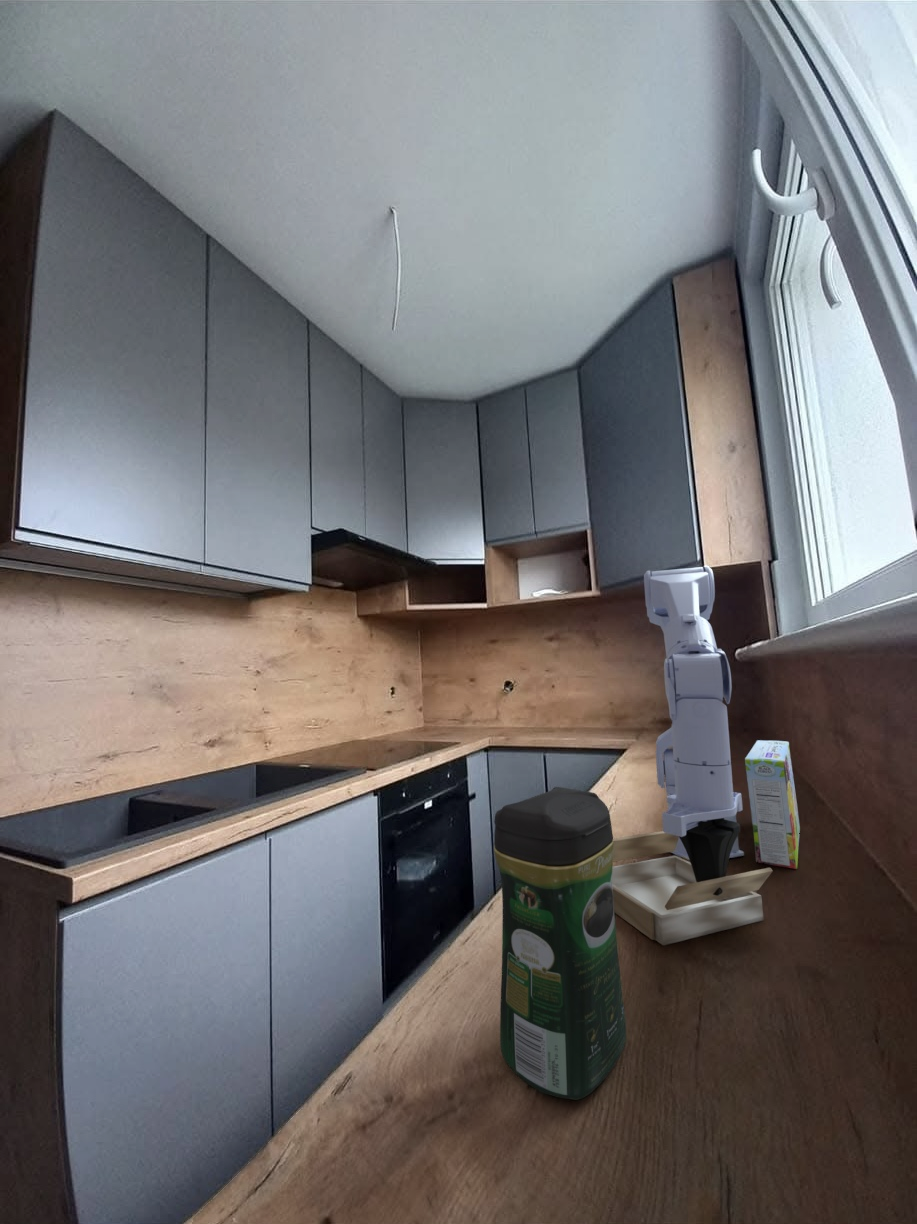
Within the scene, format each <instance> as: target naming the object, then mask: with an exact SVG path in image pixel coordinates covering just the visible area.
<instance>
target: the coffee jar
mask: <svg viewBox="0 0 917 1224" xmlns="http://www.w3.org/2000/svg"><path fill="white" fill-rule="evenodd" d="M611 820H612V819H611V814H610V811H609V808H608V806H607V805H606V803H605V802H604V801H603V800H602V799H600V797H599V796H598V794H597V793H594V792H591V791H585V790H580V789H573V788H567V787H561V786H554V787H553V788H552V789H551V790H549V791H546V792H542V793H540V794H538V795H534V796H532V797H529V798H526V799H523V800H521V801H518V802H514V803H510V804H505V805H504V806H503V807H501V808H500V809H498V810H497V811H496V812H495V814H494V842H493V843H494V846H493V852H494V858H495V861H496V864H497V867H498V870H499V874H500V881H501V882H500V883H501V894H502V898H501V899H502V902H501V903H502V929H501V930H502V932H501V933H502V934H501V935H502V936H501V938H502V940H501V941H502V942H501V945H502V947H501V953H502V954H501V980H500V982H501V983H500V1007H499V1008H500V1014H499V1016H500V1017H499V1019H500V1023H499V1024H500V1025H499V1028H500V1029H499V1031H500V1033H499V1034H500V1035H499V1037H500V1042H499V1044H500V1045H499V1046H500V1050H501V1051H500V1052H501V1054H502V1057H503V1059H504V1061H505V1063H506V1064H507V1065H508V1067H509V1068H510V1069H511V1070H512V1071H513V1072H514V1073H515V1074H516V1075H517V1077H519V1079H521V1080H523V1081H524V1082H525V1083H526V1084H528V1085H529V1086H530V1087H532V1088H533V1089H535V1090H537V1091H538V1092H540V1093H542V1094H544V1095H550V1096H553V1097H556V1098H560V1099H565V1100H566V1099H567V1100H574V1101H575V1100H576V1101H577V1100H581V1099H583V1098H585V1097H586V1096H589V1095H590V1094H591V1093H592V1092H594V1090H595V1089H596V1088H597V1087H599V1086H600V1085H601V1084H602V1082H604V1080H605V1079H606V1078H607V1077H608V1075H609V1074H610V1073H611V1071H612V1070H613V1068H614V1067H615V1066H616V1063H617V1062H618V1061H619V1059H620V1056H622V1055H621V1054H622V1052H623V1051H624V1047H625V1045H626V1042H627V1026H626V1015H625V1003H624V996H623V995H624V994H623V987H622V985H623V984H622V979H621V970H620V962H619V961H620V959H619V950H618V949H619V948H618V938H617V928H616V917H615V912H614V903H613V886H612V867H613V865H614V864H613V863H614V862H613V839H614V836H613V835H614V834H613V829H612V821H611Z"/></svg>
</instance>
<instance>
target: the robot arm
mask: <svg viewBox="0 0 917 1224" xmlns="http://www.w3.org/2000/svg"><path fill="white" fill-rule="evenodd" d="M643 583H644V585H643V586H644V597H645V598H644V599H645V607H646V616H647V618H649V619H648V620H649V623H651V624H654V625H656V626H660V629H661V630H662V633H663V638H664V640H663V641H664V646H665V648H664V649H665V655H666V658H665V659H664V662H663V673H664V687H665V688H664V690H665V696H666V700H667V702H668V703H667V704H668V709H669V711H668V712H669V713H668V714H669V718H670V719H671V722H672V723H671V727H670V728H669V729H666V731H664V732H663V733H661V734H660V735H659V736H657V740H656V741H655V747H656V748H655V749H656V750H655V765H656V778H657V785H659V787H660V789H665V790H666V803H667V810H665V811H663V812H662V813H661V817H662V831H663V832H665V833H668V834H672V835H676V836H679V839H678V842H677V845H676V848H675V851H672V852H670V853H671V854H672V855H674V856H677V857H680V858H682V856H684V857H686V858H688V859H689V860H690V863H691V865H692V869H693V872H694V875H695V879H696V882H701V881H706V880H711V879H716V878H721V877H726V876H727V871H728V866H729V860H730V858H731V859H732V858H737V857H742V856H745V852H744V851H743V850H740V847H739V846H740V845H739V834H740V832H741V824H740V823H738V822H737V813H738V812H741V811H743V810H744V809H743V799H742V793H741V792H734V785H733V774H732V773H733V772H732V763H731V762H732V760H731V759H732V758H731V747H730V731H729V719H728V718H729V716H728V707H727V705H729V704H730V701H731V697H732V688H733V687H732V674H731V667H730V663H729V659H728V657H727V655H726V653H725V651H724V650H722V648H718V646H717V642H716V639H715V634H714V630H713V627H712V625H711V623H710V622H709V621H708V620H710V617H711V615H712V612H713V606H714V603H715V598H716V597H715V596H716V594H715V593H716V589H715V588H716V587H715V577H714V572H713V569H712V568H711V567H709V565H703V566H699V567H686V568H677V569H676V568H675V569H665V570H664V569H663V570H662V569H661V570H655V571H654V570H653V571H651V570H646V572H645V573H644V574H643ZM723 698H724V699H723ZM724 700H725V703H726V704H725V703H724V702H723V701H724ZM722 892H723V890H722V889H721V888H720V887H719V888H718V889H717V890H716V891H715V893H714V894H713V895H716V896H718V895H720V894H721V893H722Z"/></svg>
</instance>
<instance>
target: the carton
mask: <svg viewBox="0 0 917 1224" xmlns="http://www.w3.org/2000/svg"><path fill="white" fill-rule="evenodd" d="M692 883H696V879H695V875H694V872H693V869H692V865H691V863H690V860H689V859H688V858H686V857H684V856H682V857H679V856H677V855H669V856H664V857H659V858H653V859H649V860H643V861H638V862H637V861H636V862H631V863H625V864H620V865H615V866H612V886H613V903H614V914H616V915H617V916H619V917H620V918H622V919H623V920H624V921H626V922H627V923H628V924H630V925H631V926H633V927H634V928H635V929H637V930H638V931H639V932H641V933H642V934H643V935H645V936H646V937H647V938H649V939H650V940H652V941H653V940H654V941H657V942H658V943H659V944H661V945H662V946H667V945H671V944H675V943H679V942H683V941H686V940H690V939H695V938H699V937H702V936H708V935H709V934H715V933H718V932H722V931H725V930H726V931H727V930H731V929H734V928H738V927H743V926H746V925H751V924H754V923H758V922H762V921H764V912H763V911H764V910H763V899H762V895H761V894H759V893H757V891H758V890H755V891H751V892H746V893H742V894H737V895H733V896H728V897H724V898H719V899H715V900H710V901H706V902H702V903H697V904H693V905H688V906H684V907H679V908H675V909H670V910H667V909H666V908H665V905H666V903H667V902H668V900H669V899H670V897H671V895H672V894H673V892H674V891H675V889H676V888H677V886H682V885H687V884H692Z"/></svg>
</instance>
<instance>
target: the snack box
mask: <svg viewBox="0 0 917 1224" xmlns="http://www.w3.org/2000/svg"><path fill="white" fill-rule="evenodd" d="M791 757H792V756H791V751H790V742H789V741H784V740H762V739H760V740H758V739H757V740H756V741H755V743H754V744H753V746H752V748H751V749H750V751H749V752H748V754H747V755H746V757H744V763H745V772H746V779H747V788H748V799H749V805H750V814H751V823H752V825H751V826H752V833H753V840H754V841H753V842H754V852H755V862H756V863H757V862H758V863H757V864H763V863H764V865H770V866H776V867H783V868H789V869H794V870H797V869H798V863H799V861H798V859H799V844H800V834H799V833H801V832H800V831H801V826H800V819H799V818H800V817H799V809H798V803H797V795H796V788H795V781H794V780H795V779H794V773H793V765H792V764H793V763H792V759H791Z"/></svg>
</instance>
